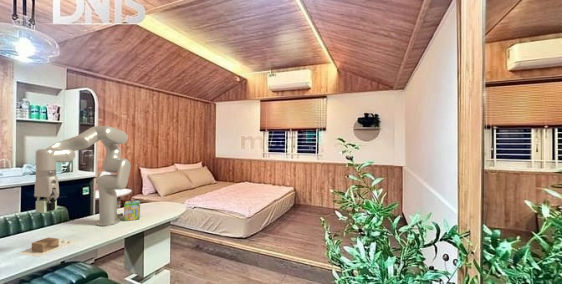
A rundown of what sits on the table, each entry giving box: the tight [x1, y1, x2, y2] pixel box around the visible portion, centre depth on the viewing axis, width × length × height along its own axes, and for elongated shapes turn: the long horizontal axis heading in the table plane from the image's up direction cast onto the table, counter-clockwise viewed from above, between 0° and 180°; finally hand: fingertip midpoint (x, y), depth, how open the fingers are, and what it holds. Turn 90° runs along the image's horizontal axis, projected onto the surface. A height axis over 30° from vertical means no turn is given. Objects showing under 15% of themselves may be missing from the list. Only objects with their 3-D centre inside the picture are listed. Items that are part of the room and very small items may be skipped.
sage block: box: [35, 198, 58, 214], centre depth 125 cm, size 6×6×6 cm
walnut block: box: [31, 236, 60, 253], centre depth 124 cm, size 7×7×4 cm
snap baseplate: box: [17, 238, 80, 258], centre depth 126 cm, size 18×14×2 cm
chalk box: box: [123, 196, 141, 222], centre depth 173 cm, size 9×9×15 cm
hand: (46, 209), depth 125 cm, fingers closed on sage block, 5 cm apart
